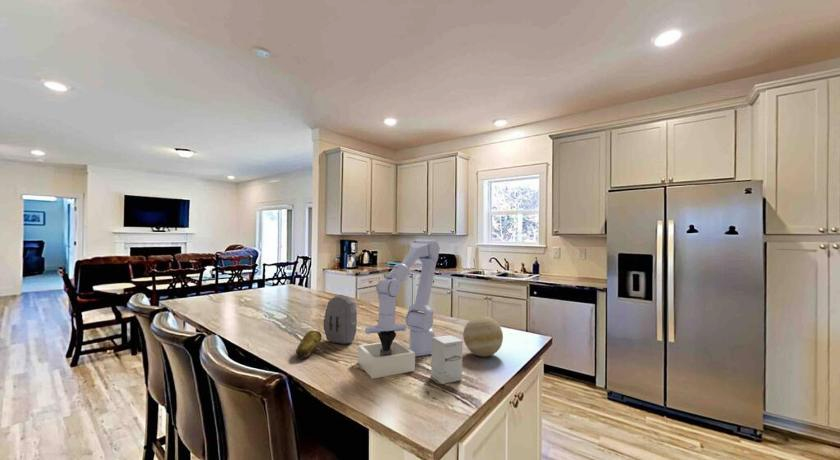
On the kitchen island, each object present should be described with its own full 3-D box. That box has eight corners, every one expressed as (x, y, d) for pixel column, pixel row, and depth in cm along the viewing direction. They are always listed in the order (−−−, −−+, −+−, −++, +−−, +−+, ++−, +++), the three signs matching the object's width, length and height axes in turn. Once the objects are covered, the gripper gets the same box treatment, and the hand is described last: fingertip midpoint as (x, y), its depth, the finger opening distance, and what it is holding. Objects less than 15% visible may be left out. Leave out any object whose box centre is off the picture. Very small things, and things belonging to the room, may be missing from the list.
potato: (286, 358, 123) (286, 335, 123) (311, 347, 135) (312, 327, 135) (303, 362, 119) (304, 339, 120) (328, 351, 131) (328, 330, 131)
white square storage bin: (396, 356, 127) (397, 340, 127) (414, 370, 114) (415, 352, 114) (357, 362, 120) (358, 345, 120) (372, 378, 107) (372, 359, 107)
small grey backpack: (359, 342, 142) (360, 295, 143) (347, 348, 135) (349, 298, 135) (330, 337, 148) (332, 291, 149) (317, 343, 141) (319, 294, 141)
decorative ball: (483, 365, 120) (484, 323, 120) (454, 353, 132) (455, 314, 132) (510, 357, 129) (511, 317, 129) (481, 346, 141) (482, 310, 141)
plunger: (394, 356, 125) (394, 342, 125) (407, 367, 115) (407, 352, 115) (364, 361, 119) (365, 347, 119) (375, 372, 109) (376, 357, 109)
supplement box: (442, 385, 103) (443, 343, 104) (430, 375, 110) (431, 336, 110) (462, 380, 107) (463, 340, 107) (449, 372, 113) (450, 334, 114)
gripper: (401, 310, 124) (399, 347, 124) (363, 312, 118) (361, 352, 117) (409, 314, 118) (407, 353, 118) (370, 316, 111) (368, 358, 111)
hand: (385, 353), depth 117 cm, fingers closed, pressing on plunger
